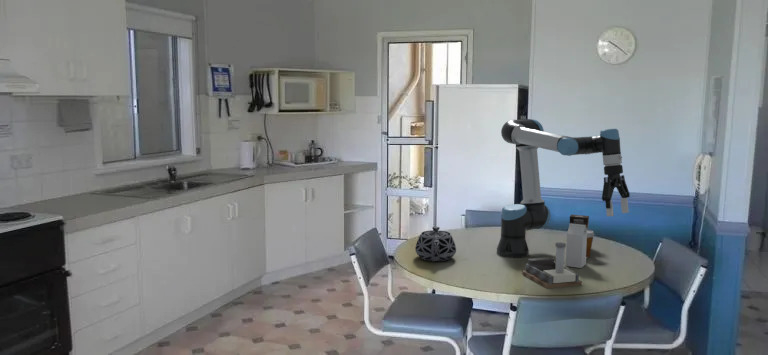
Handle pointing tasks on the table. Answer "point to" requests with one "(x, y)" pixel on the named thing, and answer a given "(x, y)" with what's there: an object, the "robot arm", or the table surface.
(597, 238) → the table surface
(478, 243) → the table surface
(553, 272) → the white pillar stand
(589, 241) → the disposable coffee cup
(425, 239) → the black lattice pot
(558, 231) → the table surface
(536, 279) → the base
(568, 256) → the milk carton
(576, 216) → the coffee box
